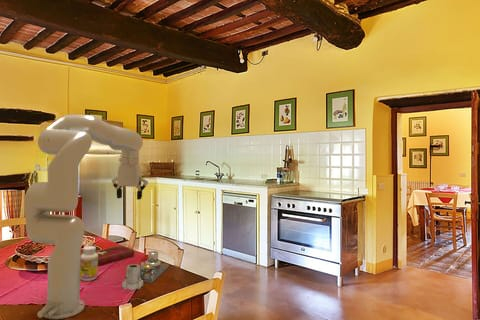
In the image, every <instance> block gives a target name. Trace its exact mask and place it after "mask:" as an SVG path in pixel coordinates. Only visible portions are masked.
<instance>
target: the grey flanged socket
mask: <svg viewBox="0 0 480 320" xmlns="http://www.w3.org/2000/svg"><path fill="white" fill-rule="evenodd" d="M139 265H140V264H138V263H137V264H135V263H134V264H133V263H131V264H128V265H127V266H126V275H125V276H126V279H125V278H124V280H123V281H122V282H121V283H122V284H121V285H122V286H121V287H122V288H123V290H125V291H126V290H130V291H134V290H139V289H142V287H143V286H144V282H143V280H141V278H140V266H139Z"/></svg>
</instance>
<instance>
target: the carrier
mask: <svg viewBox="0 0 480 320" xmlns="http://www.w3.org/2000/svg"><path fill="white" fill-rule="evenodd" d="M138 265H139V266H140V278H141V280H143V283H148V284H149V283H154V282H155V281H156V279H158V278H159V277H160V276H161V275H162V274H163V273H164V272H165V271H166V270H167V269H168V268H169V265H170V264H169V263H162V262H161V260H160V259H159V251H155V250H154V251H153V250H151V251H148V253H147V259H146V260H145V261H141V262H140V264H138ZM125 279H126V275H125V276H124V280H125Z"/></svg>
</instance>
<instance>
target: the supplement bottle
mask: <svg viewBox="0 0 480 320" xmlns="http://www.w3.org/2000/svg"><path fill="white" fill-rule="evenodd" d="M82 251H83V253H81V258H80V281H82V282H83V281H84V282H91V281H93V280H95V279H97V278H98V274H99V273H98V269H99V266H98V254H97V253H95V251H97V247H96V246H93V245H89V246H88V245H87V246H84V247H83V249H82Z"/></svg>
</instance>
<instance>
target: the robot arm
mask: <svg viewBox="0 0 480 320" xmlns="http://www.w3.org/2000/svg"><path fill="white" fill-rule="evenodd" d="M93 142H96V143H97V144H100V145H105V146H109V148H110V149H112V150H114V151H121V158H119V160H118V161H119V163H120V164H119V166H118V171H117V177H115V178H112V179H111V183H112V186H113V187H114V188H115V190H116V199H122V197H123V189H122V188H123V187H131V188H136V189H137V192H136V200H138V201H139V200H142V197H143V191H144V190H145V188H147V185H148V183H149V181H148V180H146V179H145V178H143V177H142V168H141V165H140V150H141V149H142V147H143V144H144V142H143V138H142V136H141V134H140V133H138V132H136V131H134V130H133V129H132V130H131V129H128V128H124V127H121V126H117V125H114V124H110V123H108V122H106V121H104V120H102V119H100V118H99V117H96V116H95V115H91V114H66V115H63V116H61V117H60V118H59V119H57V120H55V121H54V122H52V123H51V124H50V125H48V126H47V127H46V128H44V129H43V130H42V131H41V132H40V134H39V136H38V138H37V146H38V148H39V150H40V151H41V152H42V153H44V154H47V155H52V156H53V155H54V157H53V158H52V159H51V161H50V162H49V164H48V167H47V181H39V182H38V181H37V182H35V183H33V184H31V185H30V186H29V187H28V188H27V190H26V192H25V195H24V215H25V219H24V220H25V230H26V235H27V237H28V239H29V240H30V241H32V242H33V243H37V244H49V245H54V246H55V247H54V248H53V249H52V251H51V252H50V254H49V256H48V261H47V291H46V292H47V294H46V296H47V300H46V301H45V306H43V307H42V308H41V310H39V311H37V317H38V318H45V319H49V320H60V319H61V320H62V319H67V318H70V317H74V316H75V315H78V314H79V313H81V312H82V311H83V310H84V309H85V302H84V301H83V300H82V299H80V297H81V296H80V293H81V289H80V288H81V279H80V259H81V255H82V253H81V252H82V244H83V239H84V235H85V227H86V225H85V222H84V221H83V220H82V219H81V218H80V217H78V216H75V215H68V214H53V213H69V212H73V211H74V210H75V209H76V208H77V206H78V204H79V203H78V202H79V186H78V185H79V184H78V168H79V165H80V163H81V161H82V160H83V158H84V157H85V155H86V154H88V152H89V150H90V149H91V146H92V144H93ZM50 212H52V214H51V213H50Z"/></svg>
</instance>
